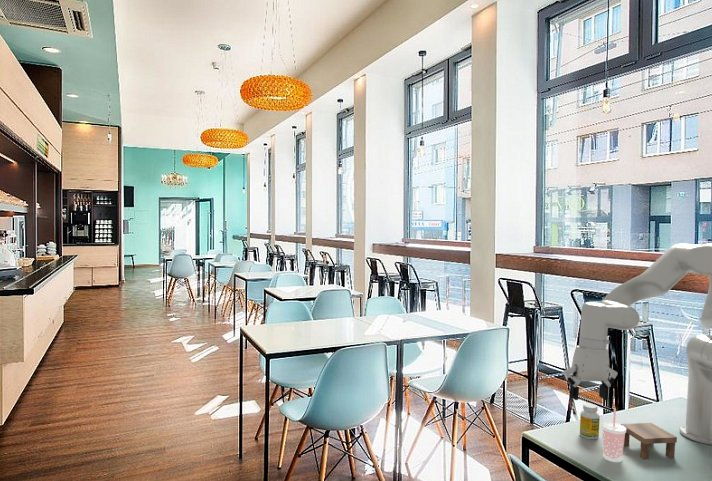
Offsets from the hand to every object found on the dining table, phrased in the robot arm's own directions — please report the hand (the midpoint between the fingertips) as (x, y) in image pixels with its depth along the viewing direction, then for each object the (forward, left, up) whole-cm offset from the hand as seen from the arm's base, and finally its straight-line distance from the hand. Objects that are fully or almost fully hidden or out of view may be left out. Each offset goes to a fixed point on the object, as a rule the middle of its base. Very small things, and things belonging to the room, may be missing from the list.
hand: (588, 398), depth 155 cm
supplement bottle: (-1, 0, -12) cm, 12 cm away
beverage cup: (+1, +14, -12) cm, 19 cm away
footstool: (-12, +11, -12) cm, 20 cm away
